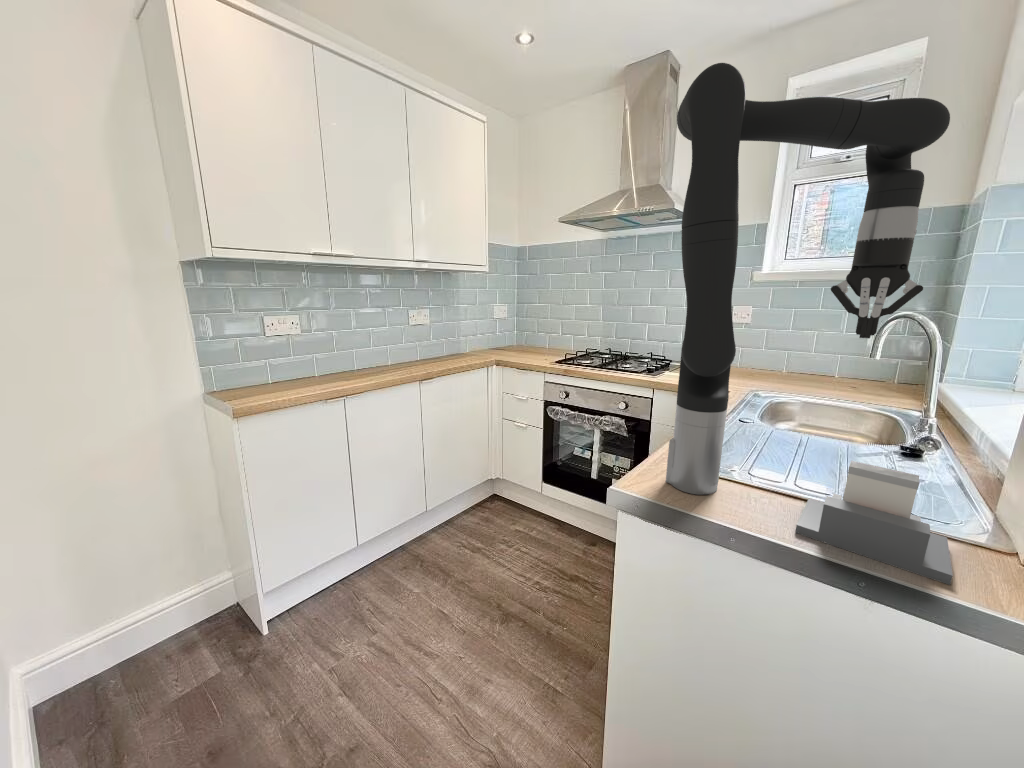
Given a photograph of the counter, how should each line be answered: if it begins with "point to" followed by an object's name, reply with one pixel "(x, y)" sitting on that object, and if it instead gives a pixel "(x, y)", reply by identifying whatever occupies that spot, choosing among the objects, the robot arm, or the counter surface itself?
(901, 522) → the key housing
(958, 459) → the counter surface
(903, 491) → the light grey upright block
